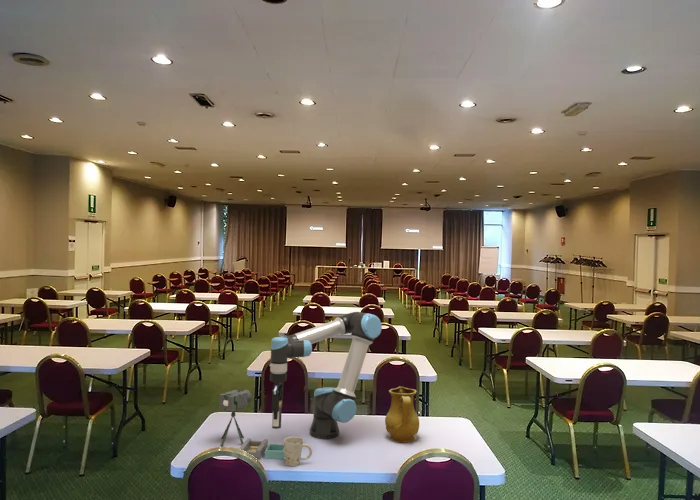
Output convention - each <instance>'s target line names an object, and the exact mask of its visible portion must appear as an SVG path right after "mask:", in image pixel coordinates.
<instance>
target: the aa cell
mask: <svg viewBox="0 0 700 500" xmlns="http://www.w3.org/2000/svg"><path fill="white" fill-rule="evenodd" d="M282 406H283V405H282V400H280V399H279V426H278V427H277V426H272V425H273V413H272V414H271V415H272V416H271V417H272V419H271V420H272V423H271V428H272V429H275V430H277V429H282V409H283V408H282Z"/></svg>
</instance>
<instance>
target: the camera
mask: <svg viewBox="0 0 700 500" xmlns="http://www.w3.org/2000/svg"><path fill="white" fill-rule="evenodd" d="M241 389H242V388H241V387H238V389H233V390H230V391H227V392H223V393H220V394H219V403H218V405H219V407H218V408H219V409H220V410H223V411H227V412H230V414H231V415H230V416H231V418H230V420H229V422H228V424H227V427H225V430H224V432H223V434H222V437H221V444H220V447H224V444H225V442H226V439H227V435H228V433H229V430H230V428H231V423H232V420H234V423H235V427H236V431H237V433H238V438H239V440H240V446H241V445H242V444H243V443H244V441H243V440H244V438H245V437H244V435H243V433H242V431H241V428H240V426H239V424H238V421H237V420H236V419H237V418H236V411H238V410H243V409H245V408H248V404H250V403H251V401H252V393H251V391H250V390H248V389H244V390H242V391H241Z"/></svg>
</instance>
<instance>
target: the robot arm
mask: <svg viewBox="0 0 700 500" xmlns="http://www.w3.org/2000/svg"><path fill="white" fill-rule="evenodd" d="M382 325H383V324H382V321H381V319H380V318H379V317H378V316H377V315H375V314H372V313H366V312H361V311H353V312H352V311H351V312H349V313H345V314H343V315H340V316H337V317H335V319H334V320H331V321H329V322H326V323H323V324H320V325H317V326H314V327H312V328H308V329H305V330H302V331H299V332H296V333H293V334H291V335H287V336H286V335H282V336H277V337H273V338H271V342H270V364H269V367H270V368H269V369H270V370H269V371H270V373H269V381H270V382H272V383H274V384H273V385H272V390H271V395H272V397H271V410H270V412H271V413H272V414H273V425H272V424H271V427H272V426H277V427H278V426H279V399H280V400H282V409H283V408H284V405H283V403H284V386H285V385H284V383H285V382H286V381H287V380H288V379H287V378H288V377H287V376H288V374H287V372H288V359H293V358H305V357H309V356H311V354H312V353H313V352H312V351H313V344H315V343H318V342H322V341H324V340H327V339H330V338H334V337H335V336H339V335H340V336H344V335H347V334H350V338H351V339H352V340H351V344H350V346H349V347H350V348H349V351H348V354H347V356H346V359H345V362H344V366H343V369H342V371H341V374H340V377H339V381H338V384H337V387H331V386H329V387H326V386H324V387H319V388H316V389H314V393H313V417H312V418H313V419H312V421H311V424H310V428H309V435H310V436H311V437H313V438H317V439H322V440H323V439H327V440H328V439H334V438H336V437H338V436H339V435H340V427H339V424H338V422H339V423H344V424H345V423H348V422H349V421H351V420H352V419H353V418H354V417H355V415H356V413H357V410H358V409H357V404H356V402H355V401H356V398H357V396H356V394H355V390H356V387H357V384H358V381H359V378H360V374H361V371H362V368H363V365H364V361H365V358H366V355H367V352H368V349H369V346H370V345H372V344H373V343H374V340H375V339H376V338H378V337H379V336H380V335H381V333H382V327H383V326H382Z"/></svg>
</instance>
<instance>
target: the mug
mask: <svg viewBox="0 0 700 500" xmlns="http://www.w3.org/2000/svg"><path fill="white" fill-rule="evenodd" d="M303 442H304V439H303V438H302V437H299V436H289V437H285V438H284V439H283V444H284V451H285V457H284V460H285V465H286V466H289V467H296V466H298V465H300V463H301V461H305V460H308V459H310V458H311V457H312V455H313V448H312V447H311V445H310V444H307V443H303ZM303 448H307V449H308V451H309V453H308V455H307V456H306V457H302V449H303Z"/></svg>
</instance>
